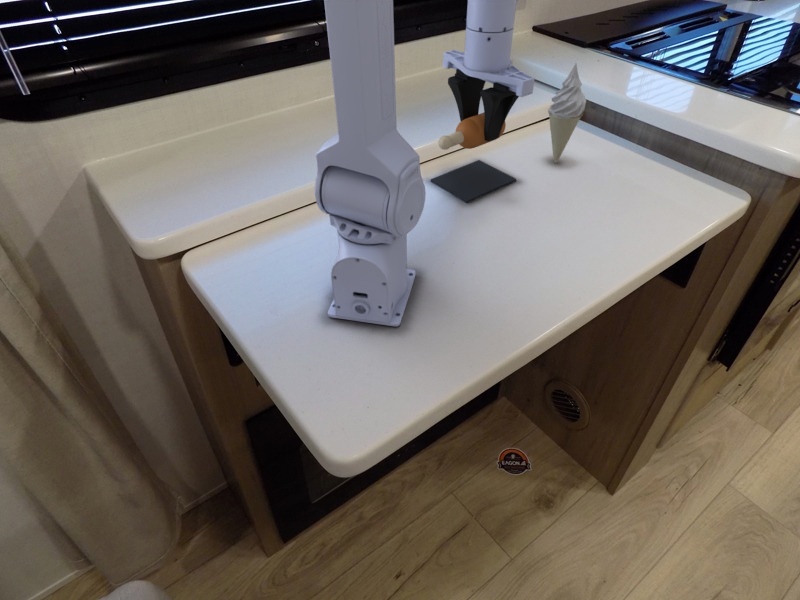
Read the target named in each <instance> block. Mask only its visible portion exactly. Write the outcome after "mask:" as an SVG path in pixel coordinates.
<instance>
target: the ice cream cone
mask: <svg viewBox="0 0 800 600" xmlns="http://www.w3.org/2000/svg"><path fill="white" fill-rule="evenodd" d="M561 84H562V87H561V88H560V89H559V90H557V91H555V94H556V95H555V96H553V97H551V102H552V104H550V106H549V108H548V109H547V113H548V117H549V119H548V120H549V128H550V137H551V147H552V158H553V163H554V164H557V163H558V162H559V160H560V158H561V156H562V155H563V152H564V150H565V149H566V146H567V145H568V143H569V141H570V139H571V136H572V135H573V133H574V131H575V129H576V127H577V125H578V123H579V121H580V119H581V117H583V115H584V112H585V107H586V104H587V99H586V96H585V94H584V93H583V91H582V88H581V87H582V85H583V83H582V81H581V79H580V76H579V72H578V64H577V63H574V66H573V67H572V69H571V70H570V72H569V73H568V75H567V77H566V78H565V80H564V81H563V82H562V83H561Z"/></svg>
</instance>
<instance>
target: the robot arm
mask: <svg viewBox="0 0 800 600" xmlns="http://www.w3.org/2000/svg"><path fill="white" fill-rule="evenodd" d="M323 1H324V2H323V3H324V10H325V21H326V31H327V38H328V39H327V40H328V48H329V50H328V51H329V58H330V68H331V78H332V84H333V85H332V88H333V96H334V105H335V116H336V124H337V133H336V134H334V135H333V136H331V137H330V138H328V140H326V141H325V142H324V143H323V144H322V145H321V146H320V148H319V150H317V152H316V153H315V158H316V159H315V160H316V169H317V170H316V176H315V181H314V197H315V202H316V205H317V207H318V209H319V210H320V211H321V212H322V213H323V214H326V215H329V224H330V226H332V227H334V228H335V229H336V233H337V244H338V249H337V254H336V257H335V260H334V263H333V265H332V267H331V272H330V280H331V286H332V294H333V295H332V296H333V300H332V302H331V304H330V306H329V307H328V310H327V316H328V317H329V318H334V319H341V320H347V321H353V322H354V321H355V322H362V323H367V324H368V323H369V324H375V325H383V326H389V327H399V326H400V325H401V323H402V320H403V316H404V313H405V311H406V307H407V304H408V301H409V298H410V295H411V293H412V292H411V291H412V288H413V286H414V282H415V279H416V276H417V271H416V270H415V269H411V268H408V237H407V236H408V234H409V233H410V232H411V231H413V230H414V228H415V227H416V226H417V224H418V223H419V221H420V219H421V217H422V214H423V211H424V207H425V203H426V193H427V192H426V186H425V183H424V179H423V177H422V173H421V163H420V161H421V160H420V159H421V157H420V155H419V154H418V152H417V151H416V150H415V149H414V147H412V146H411V144H410V143H409V142H408V141H407V140H406V139H405V138H404V137H403V136H402V135H401V133H400V132H399V131H398V129H397V127H398V126H397V95H396V93H397V92H396V90H397V89H396V60H395V59H396V57H395V56H396V55H395V23H394V19H395V18H394V0H323ZM466 7H467V9H466V23H465V25H466V26H465V38H464V39H465V40H464V52H463V51H460V50H457V49H452V50H448V51H444V52H443V53H442V68H444V69H446V70H447V69H448V70H449V69H453V70H455V73H454V75H453V76H449V77H448V78H447V85H448V86H449V88H450V90H451V92H452V95H453V97H454V99H455V102H456V106H457V110H458V114H459V120H460V122H461V121H463V120H464V119H467V118H469V117H472V116H475V115H478V114H480V113H479V111H480V104H481V101H482V105H483V113H484V115H485V122H484V137H485V141H487V142H488V143H490V141H491V142H493V141H496V140H497V138H498V139H499V138H500V137H499V135H500V132H501V129H502V127H503V124H504V122H505V123H506V119H507V117H508V115H509V113H510V111H511V109H512V107H514V104H515V103H516V101H517V100H518V99H519V98H524V97H526V96H529V95H532V94H533V93H534V86H535V79H536V77H534V76H531V75H529V74H527V73H525V72H524V71H523V70H521V69H520V68H518V67H517V66H515V65H514V64H513V59H512V58H511V52H512V44H513V36H514V27H515V18H516V10H517V0H467V6H466ZM486 83H490V84H492V86H490V87H488V88H485V89H484V87H485V84H486ZM495 139H496V140H495ZM492 140H493V141H492Z"/></svg>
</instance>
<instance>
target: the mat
mask: <svg viewBox="0 0 800 600" xmlns="http://www.w3.org/2000/svg"><path fill="white" fill-rule="evenodd" d="M430 182H431V183H432V184H434V185H436V186H437V187H439V188H440V189H442V190H443V191H444V190H445V191H446V192H447V193H449V194H451V195H453V196H454V197H456V198H458V199H459V200H461V201H463V202H464V203H466V204H468V203H470V202H473V201H475V200H477V199H479V198H481V197H484V196H486V195H489V194H490V193H493V192H495V191H498V190H500V189H502V188H505V187H507V186H509V185H511V184H513V183H515V182H517V178H516V177H513V176H511V175H510V174H507V173H506V172H504V171H502V170H500V169H498V168H496V167H494V166H492V165H491V164H488V163H486V162H484V161H482V160H480V159H478V160H475V161H473V162H470V163H467V164H465V165H463V166H461V167H458V168H455V169H453V170H450V171H448V172H445V173H443V174H441V175H438V176H434V177H433V178H431V179H430Z"/></svg>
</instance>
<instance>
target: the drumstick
mask: <svg viewBox="0 0 800 600" xmlns="http://www.w3.org/2000/svg"><path fill="white" fill-rule="evenodd" d="M484 122H485V115H484V112H481V113H478V115H475V116H472V117H469V118H467V119H464V120H463V121H460V122H458V124H457V126H456V129H455V131H454V132H452V133H449V134H446V135H442V136H440V138H439V139H438V141H437V143H438V147H439V148H440V149H441V150H444V151H445V150H449V149H450V148H453V147H455V146H460V147H461V148H464V149H469V150H471V149H476V148H478V147H480V146H483V145H486V144H487V143H488V144H489V143H490V142H494V141H496V140H497V139H499V138H501V137H502V135H503V134H504V133H505V130H506V121H505V122H504V124H503V127H502V129H501V132H500V135H499V138H497V139H495V140H492V141H490V142H487V141H485V137H484Z"/></svg>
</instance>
